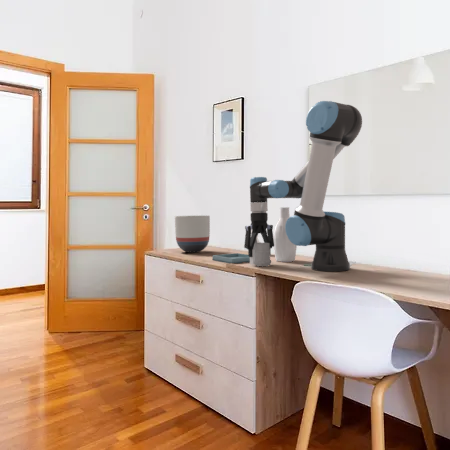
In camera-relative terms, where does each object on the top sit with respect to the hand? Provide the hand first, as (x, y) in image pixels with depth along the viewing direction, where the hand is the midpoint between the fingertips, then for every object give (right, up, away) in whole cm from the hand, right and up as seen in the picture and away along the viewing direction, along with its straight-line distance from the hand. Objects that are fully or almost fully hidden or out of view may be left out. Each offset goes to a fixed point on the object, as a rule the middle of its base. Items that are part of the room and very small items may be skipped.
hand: (259, 263), depth 188 cm
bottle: (+13, 0, +13) cm, 18 cm away
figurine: (+1, +1, +42) cm, 42 cm away
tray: (-10, 0, +17) cm, 20 cm away
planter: (-34, +1, +61) cm, 70 cm away
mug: (0, -1, 0) cm, 1 cm away
